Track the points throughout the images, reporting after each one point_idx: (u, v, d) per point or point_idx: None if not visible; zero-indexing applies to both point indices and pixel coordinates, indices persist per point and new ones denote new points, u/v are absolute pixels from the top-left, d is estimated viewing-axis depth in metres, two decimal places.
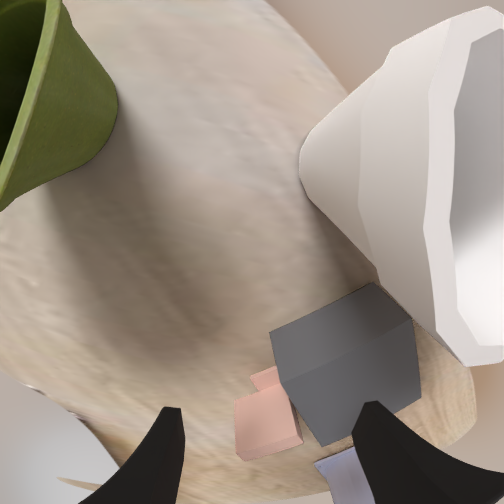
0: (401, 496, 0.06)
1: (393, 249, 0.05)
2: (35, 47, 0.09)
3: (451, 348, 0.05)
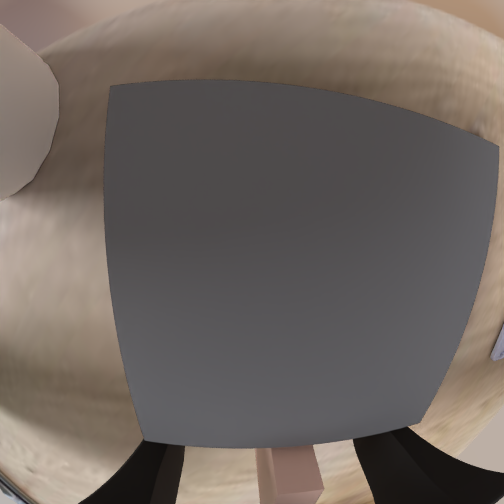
0: (401, 496, 0.06)
1: None
2: None
3: None
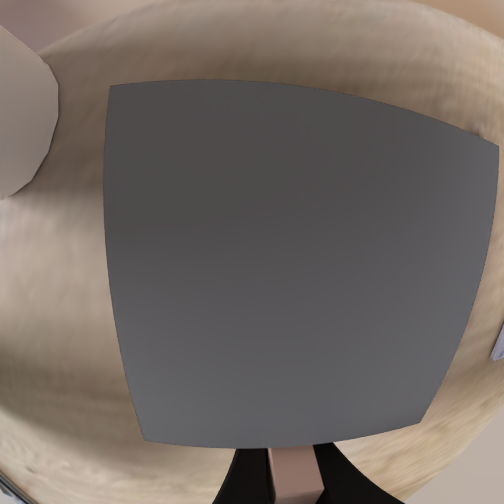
0: None
1: None
2: None
3: None
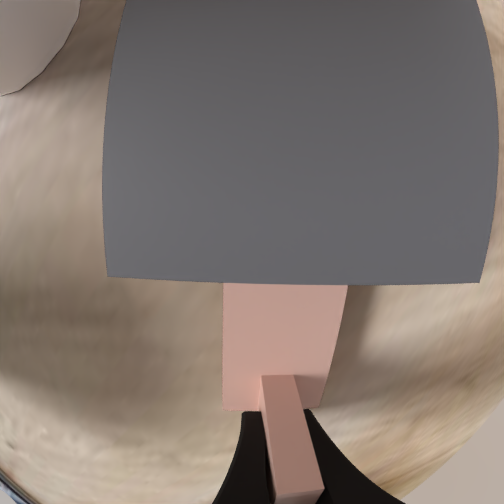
0: None
1: None
2: None
3: None
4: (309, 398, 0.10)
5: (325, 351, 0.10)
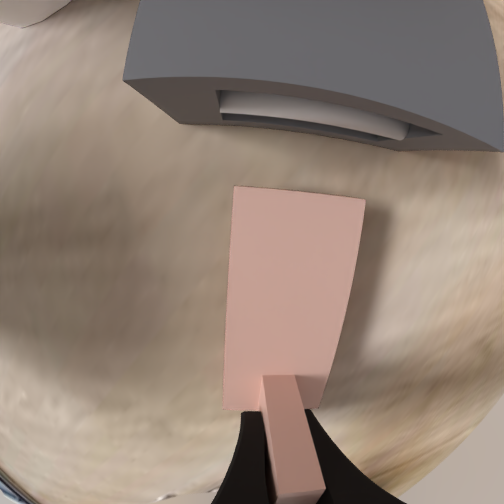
0: None
1: None
2: None
3: None
4: (309, 399, 0.10)
5: (326, 351, 0.10)
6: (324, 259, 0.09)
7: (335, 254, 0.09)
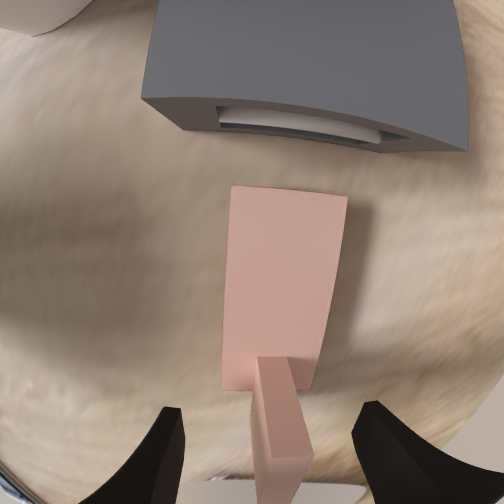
0: (401, 496, 0.06)
1: None
2: None
3: None
4: (301, 380, 0.12)
5: (315, 334, 0.11)
6: (311, 249, 0.10)
7: (321, 245, 0.10)
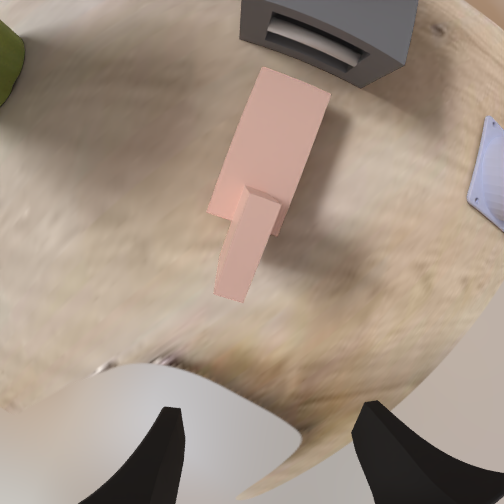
0: (401, 496, 0.06)
1: None
2: None
3: None
4: None
5: (291, 180, 0.15)
6: (301, 116, 0.14)
7: (308, 116, 0.14)
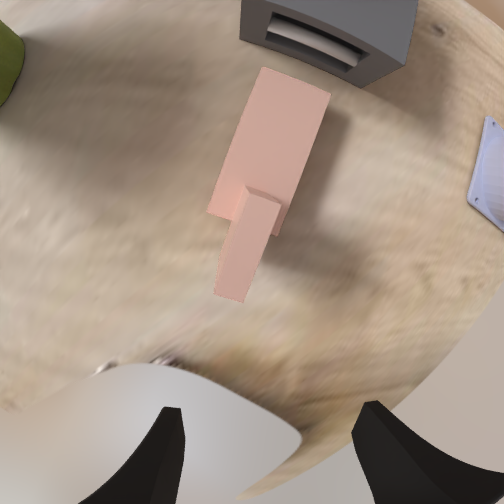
0: (401, 496, 0.06)
1: None
2: None
3: None
4: None
5: (291, 180, 0.15)
6: (301, 116, 0.14)
7: (308, 116, 0.14)
